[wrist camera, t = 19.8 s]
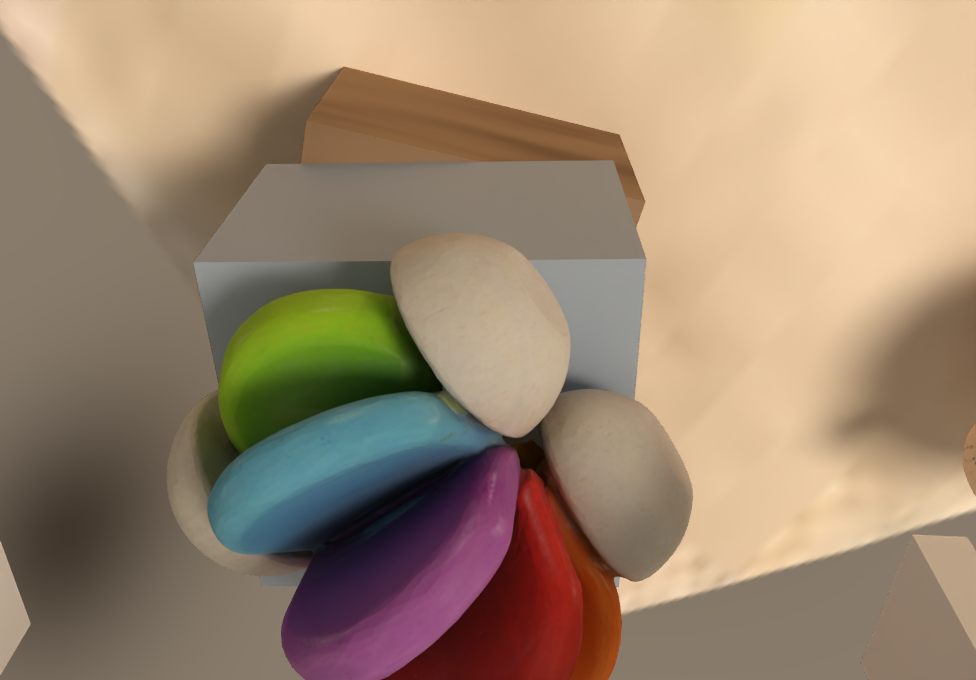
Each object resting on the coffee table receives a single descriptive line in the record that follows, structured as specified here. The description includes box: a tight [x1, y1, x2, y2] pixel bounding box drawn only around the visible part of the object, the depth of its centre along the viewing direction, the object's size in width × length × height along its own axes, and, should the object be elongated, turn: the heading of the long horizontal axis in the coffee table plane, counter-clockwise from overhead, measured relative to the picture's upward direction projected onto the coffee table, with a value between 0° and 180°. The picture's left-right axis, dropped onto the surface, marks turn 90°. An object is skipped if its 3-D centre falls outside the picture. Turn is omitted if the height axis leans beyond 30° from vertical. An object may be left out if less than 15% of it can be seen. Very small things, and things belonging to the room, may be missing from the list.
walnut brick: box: [301, 67, 645, 227], centre depth 27 cm, size 9×9×6 cm
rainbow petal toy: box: [167, 233, 693, 680], centre depth 16 cm, size 8×10×7 cm
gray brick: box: [193, 160, 646, 587], centre depth 22 cm, size 9×9×6 cm
